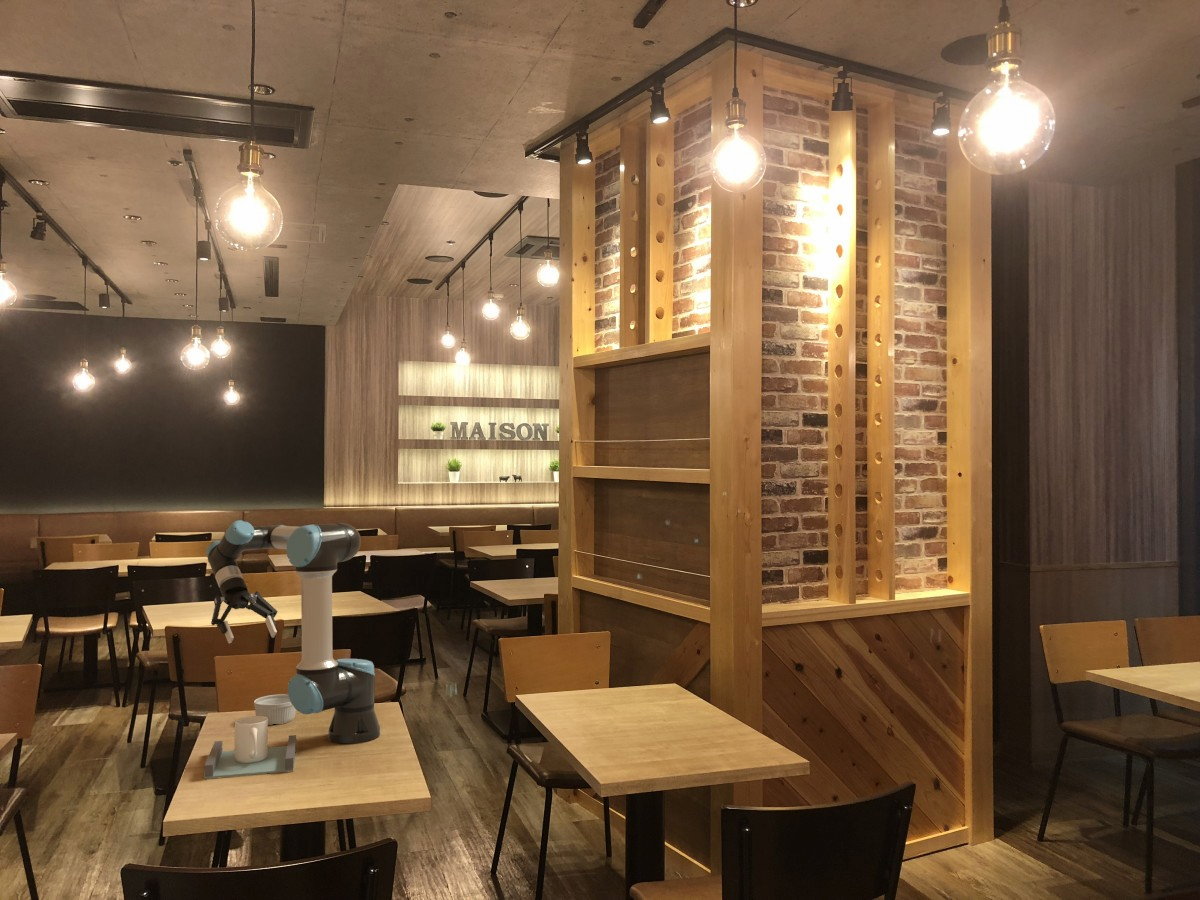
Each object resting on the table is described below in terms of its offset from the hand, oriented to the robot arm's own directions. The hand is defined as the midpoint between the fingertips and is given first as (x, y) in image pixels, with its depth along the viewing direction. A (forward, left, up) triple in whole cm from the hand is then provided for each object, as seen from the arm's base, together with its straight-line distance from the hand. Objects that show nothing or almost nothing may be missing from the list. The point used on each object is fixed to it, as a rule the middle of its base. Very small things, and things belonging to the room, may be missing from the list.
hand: (253, 637), depth 281 cm
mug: (-15, +22, -29) cm, 40 cm away
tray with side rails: (-15, +22, -30) cm, 40 cm away
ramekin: (+3, -17, -30) cm, 35 cm away
